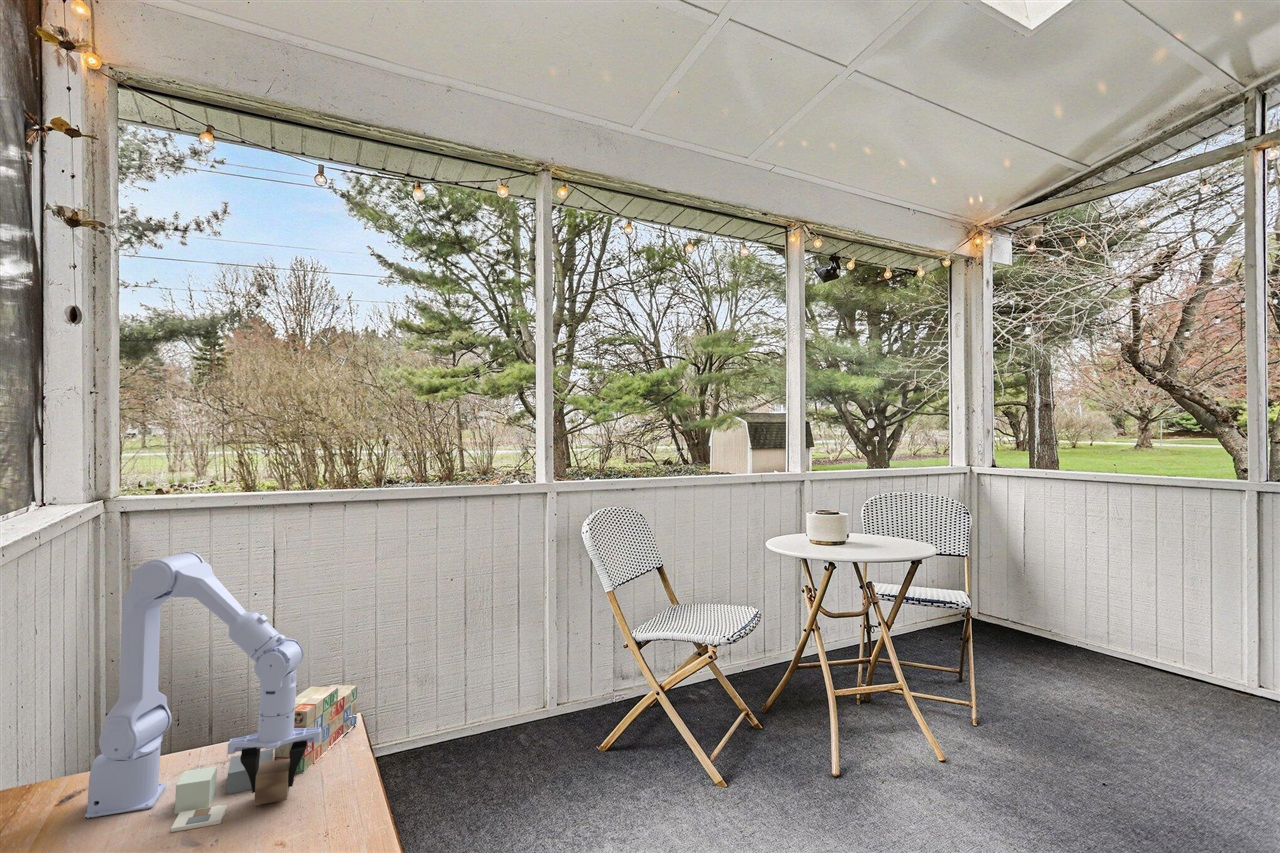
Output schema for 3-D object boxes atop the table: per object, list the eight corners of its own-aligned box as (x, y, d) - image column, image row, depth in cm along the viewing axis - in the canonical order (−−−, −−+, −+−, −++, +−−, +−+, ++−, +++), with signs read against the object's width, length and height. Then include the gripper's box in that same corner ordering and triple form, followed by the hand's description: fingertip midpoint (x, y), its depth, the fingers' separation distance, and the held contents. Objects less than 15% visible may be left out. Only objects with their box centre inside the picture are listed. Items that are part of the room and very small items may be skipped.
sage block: (174, 814, 108) (176, 784, 108) (183, 799, 112) (184, 771, 112) (208, 808, 109) (210, 779, 110) (215, 794, 114) (217, 766, 114)
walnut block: (254, 805, 109) (255, 776, 109) (259, 790, 114) (260, 762, 114) (286, 799, 111) (288, 771, 111) (290, 785, 116) (291, 758, 116)
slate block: (226, 795, 114) (227, 773, 114) (230, 777, 120) (231, 756, 120) (270, 786, 117) (271, 764, 117) (272, 769, 123) (273, 748, 124)
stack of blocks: (330, 725, 143) (332, 671, 144) (356, 726, 143) (359, 671, 144) (272, 772, 122) (275, 709, 123) (304, 773, 122) (307, 710, 122)
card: (170, 832, 102) (170, 827, 102) (179, 815, 107) (180, 811, 107) (220, 823, 105) (220, 819, 105) (227, 807, 110) (227, 803, 110)
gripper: (225, 725, 107) (220, 806, 106) (319, 713, 112) (315, 790, 112) (234, 709, 113) (230, 785, 112) (323, 699, 119) (319, 771, 118)
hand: (273, 786), depth 112 cm, fingers closed on walnut block, 5 cm apart
